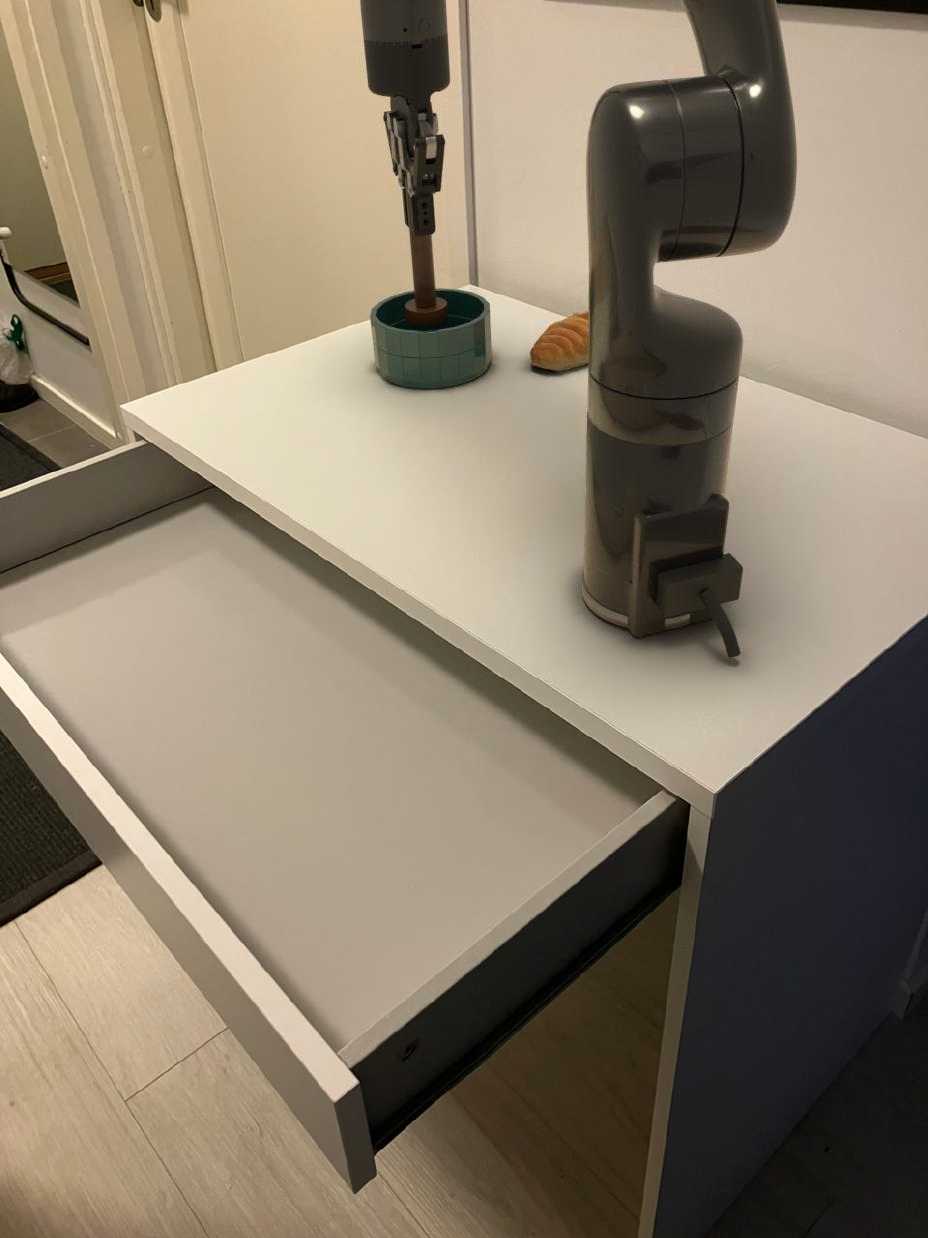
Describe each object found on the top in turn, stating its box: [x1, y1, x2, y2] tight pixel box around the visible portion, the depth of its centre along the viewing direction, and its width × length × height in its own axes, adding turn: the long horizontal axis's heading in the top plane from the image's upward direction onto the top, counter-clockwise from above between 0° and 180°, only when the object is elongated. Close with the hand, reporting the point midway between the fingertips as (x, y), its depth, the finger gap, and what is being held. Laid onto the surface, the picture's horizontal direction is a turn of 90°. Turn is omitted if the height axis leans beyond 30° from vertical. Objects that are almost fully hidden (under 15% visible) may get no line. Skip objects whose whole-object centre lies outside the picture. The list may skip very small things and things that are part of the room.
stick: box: [405, 175, 448, 326], centre depth 102 cm, size 4×4×14 cm
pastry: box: [529, 311, 589, 373], centre depth 106 cm, size 9×7×4 cm
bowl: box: [369, 287, 493, 390], centre depth 105 cm, size 12×12×6 cm
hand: (420, 229), depth 100 cm, fingers closed on stick, 2 cm apart
